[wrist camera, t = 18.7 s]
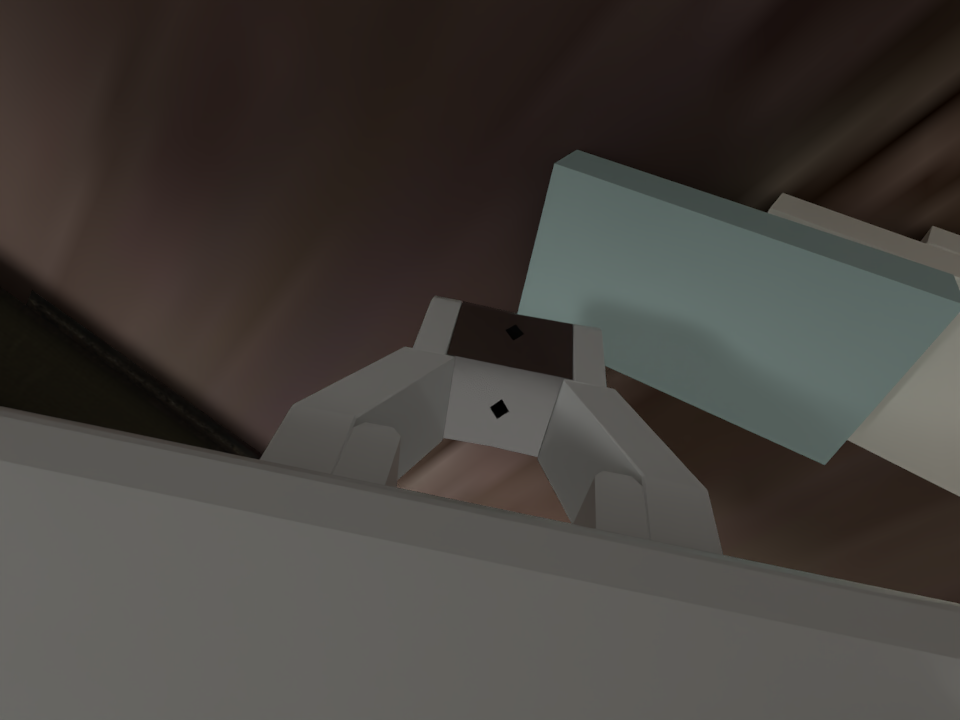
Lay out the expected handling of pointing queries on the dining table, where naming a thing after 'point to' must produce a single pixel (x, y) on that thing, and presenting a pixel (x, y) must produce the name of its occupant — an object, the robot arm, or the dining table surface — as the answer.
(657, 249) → the domino
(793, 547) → the dining table surface
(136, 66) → the dining table surface
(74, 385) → the diary
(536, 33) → the dining table surface
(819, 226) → the domino
